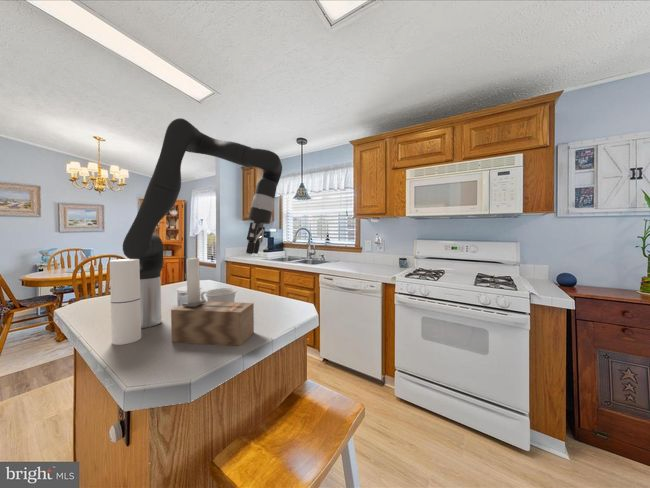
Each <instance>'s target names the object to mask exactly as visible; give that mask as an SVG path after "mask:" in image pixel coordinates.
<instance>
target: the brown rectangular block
mask: <svg viewBox="0 0 650 488" xmlns="http://www.w3.org/2000/svg"><path fill="white" fill-rule="evenodd" d="M254 308H255V307H254V302H235V301H234V302H206V301H205V303H202V304H200V305H198V306H196V307H188V306H182V304H181V305H180V306H176V307H173V308H171V309H170V316H171V317H170V318H171V319H170V320H171V321H170V322H171V326H170V327H171V343H182V344H183V343H185V344H198V345H199V344H204V345H221V346H242V345H243V344H244V343H245V342H246V341H247V340H248V339H249V338H250V337H251V336H252V335H253V334H254V331H255V328H254V327H255V324H254V322H255V321H254V319H255V317H254V315H255V311H254Z"/></svg>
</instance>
